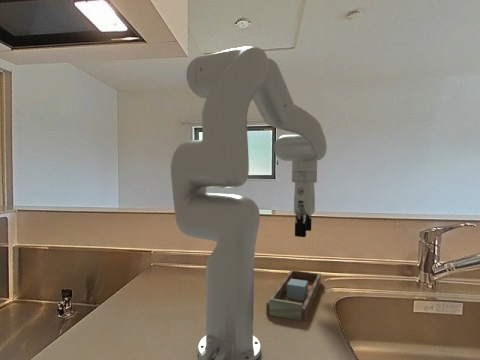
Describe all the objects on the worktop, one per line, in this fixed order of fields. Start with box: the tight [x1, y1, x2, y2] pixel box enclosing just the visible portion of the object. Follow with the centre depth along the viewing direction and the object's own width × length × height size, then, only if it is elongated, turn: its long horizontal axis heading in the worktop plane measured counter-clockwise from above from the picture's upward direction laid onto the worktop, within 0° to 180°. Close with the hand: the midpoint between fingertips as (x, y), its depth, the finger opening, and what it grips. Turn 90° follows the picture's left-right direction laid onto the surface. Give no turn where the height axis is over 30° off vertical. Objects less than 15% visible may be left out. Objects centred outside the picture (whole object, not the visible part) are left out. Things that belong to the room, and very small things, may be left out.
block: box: [286, 279, 309, 302], centre depth 95 cm, size 5×5×4 cm
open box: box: [265, 269, 322, 322], centre depth 94 cm, size 28×10×4 cm, turn 158°
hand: (303, 233), depth 102 cm, fingers open, 9 cm apart
